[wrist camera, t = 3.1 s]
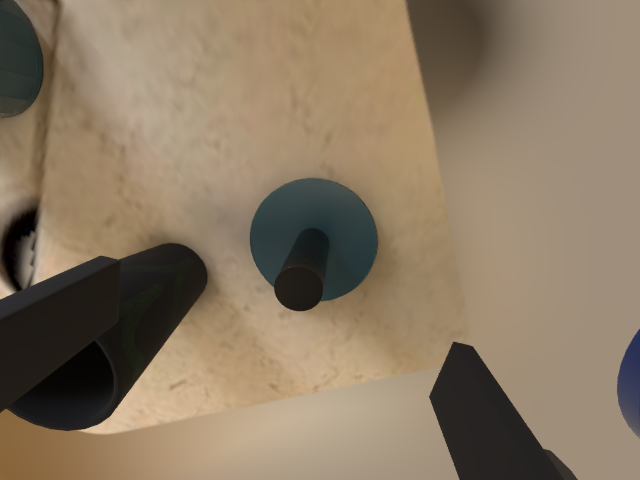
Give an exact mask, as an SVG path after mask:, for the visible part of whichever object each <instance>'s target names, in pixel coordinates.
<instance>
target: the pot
mask: <svg viewBox="0 0 640 480" xmlns="http://www.w3.org/2000/svg"><path fill="white" fill-rule="evenodd" d="M42 75H43V63H42V55H41V50H40V46H39V42H38V39H37V36H36V34H35V32H34V29H33V27H32V25H31V24H30V22H29V20H28V18H27V17H26V15H25V14H24V12H23V11H22V9H21V8H20V7H19V6H18V5H17V3H16V2H15V1H14V0H0V118H5V117H11V116H14V115H17V114H19V113H21V112H23V111H24V110H25V109H27V108H28V107H29V106H30V105H31V104H32V102H33V101H34V99H35V98H36V96H37V94H38V92H39V89H40V86H41V82H42Z"/></svg>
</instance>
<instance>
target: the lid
mask: <svg viewBox="0 0 640 480" xmlns="http://www.w3.org/2000/svg"><path fill="white" fill-rule="evenodd" d="M377 245H378V240H377V231H376V226H375V223H374V220H373V218H372V216H371V214H370V211H369V210H368V208H367V207H366V205H365V204H364V203H363V201H362V200H361V199H360V198H359V197H358V196H357V195H356V194H354V193H353V192H352V191H351V190H349V189H348V188H346V187H344V186H342V185H340V184H338V183H336V182H333V181H329V180H325V179H317V178H308V179H300V180H296V181H293V182H290V183H287V184H285V185H283V186H281V187H280V188H278V189H276V190H275V191H274V192H272V193H271V194H270V195H269V196H268V197H267V198H266V199H265V200H264V201H263V202H262V204H261V205H260V206H259V208H258V210H257V212H256V214H255V216H254V219H253V221H252V226H251V231H250V246H251V252H252V255H253V258H254V261H255V263H256V265H257V267H258V269H259V271H260V272H261V274H262V275H263V276H264V278H265V279H266V280H267V281H268V282H269V283H270V284H271V285H272V286H273V287H274V291H275V295H276V297H277V299H278V300H279V302H280V303H281V304H282V305H283V306H285V307H286V308H288V309H291V310H294V311H306V310H309V309H312V308H313V307H315V306H316V305H317V304H318V303H319V302H320V301H326V300H331V299H335V298H338V297H340V296H343V295H345V294H347V293H348V292H350V291H352V290H353V289H354V288H356V287H357V286H358V285H359V284H360V283H361V282H362V281H363V280H364V279H365V277H366V276H367V275H368V273H369V271H370V270H371V268H372V266H373V263H374V261H375V257H376V253H377Z"/></svg>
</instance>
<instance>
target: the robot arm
mask: <svg viewBox="0 0 640 480" xmlns="http://www.w3.org/2000/svg"><path fill="white" fill-rule="evenodd" d="M120 268H121V260H117V259H113V258H109V257H105V256H99V257H97V258H94V259H92V260H90V261H87V262H85V263H83V264H81V265H78V266H76V267H74V268H71V269H69V270H67V271H65V272H62V273H60V274H58V275H55V276H53V277H51V278H49V279H46V280H44V281H42V282H39V283H37V284H35V285H33V286H30V287H28V288H26V289H23V290H21V291H19V292H17V293H14V294H12V295H10V296H7V297H5V298H3V299H1V300H0V413H1V412H2V411H3V410H4V409H6V408H7V407H8V406H10V405H11V404H12V403H14V402H15V401H16V400H17V399H19V398H20V397H21V396H23V395H24V394H25V393H26V392H28V391H29V390H30V389H32V388H33V387H34V386H36V385H37V384H38V383H39V382H41V381H42V380H43V379H45V378H46V377H47V376H49V375H50V374H51V373H52V372H54V371H55V370H56V369H58V368H59V367H60V366H62V365H63V364H64V363H65V362H67V361H68V360H69V359H71V358H72V357H73V356H74V355H76V354H77V353H78V352H80V351H81V350H82V349H84V348H85V347H86V346H87V345H89V344H90V343H91V342H93V341H94V340H95V339H97V338H98V337H99V336H100V335H102V334H103V333H104V332H106V331H107V330H108V329H109V328H111V327H112V326H113V325H115V324H116V323H117V322H119V295H120ZM429 398H430V400H431V403H432V406H433V409H434V411H435V414H436V416H437V419H438V422H439V425H440V428H441V430H442V433H443V436H444V438H445V441H446V444H447V447H448V449H449V452H450V455H451V457H452V460H453V463H454V466H455V468H456V471H457V474H458V476H459V479H460V480H577V478H576V477H575V475H574V474H573V473H572V471H571V470H570V469H569V468H568V467H567V466H566V465H564V464H563V462H562V461H561V460H559V458H558V457H556V456H555V454H553V453H552V452H551V451H550V450H546V449H543V448H542V446H541V445H540V443H539V442H538V441H537V439H536V438H535V436H534V435H533V433H532V432H531V430H530V429H529V428H528V426H527V425H526V423H525V422H524V420H523V419H522V417H521V416H520V414H519V413H518V411H517V410H516V409H515V407H514V406H513V404H512V403H511V401H510V400H509V398H508V397H507V395H506V394H505V393H504V391H503V390H502V388H501V387H500V385H499V384H498V382H497V381H496V380H495V378H494V377H493V375H492V374H491V372H490V371H489V369H488V368H487V367H486V365H485V364H484V362H483V361H482V359H481V358H480V356H479V355H478V353H477V352H476V350H475V349H474V348H473V347H472V346H470V345H466V344H462V343H457V342H453V344H452V346H451V348H450V350H449V353H448V355H447V357H446V359H445V362H444V364H443V366H442V369H441V371H440V373H439V375H438V378H437V380H436V382H435V384H434V387H433V389H432V392H431V394H430V396H429Z"/></svg>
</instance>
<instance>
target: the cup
mask: <svg viewBox="0 0 640 480" xmlns="http://www.w3.org/2000/svg"><path fill="white" fill-rule="evenodd" d="M119 260H121V268H120V295H119V322H117V323H116V324H115V325H113V326H112V327H111V328H109V329H108V330H107V331H106V332H104V333H103V334H102V335H100V336H99V337H98V338H97V339H95V340H94V341H93V342H91V343H90V344H89V345H87V346H86V347H85V348H84V349H82V350H81V351H80V352H78V353H77V354H76V355H74V356H73V357H72V358H71V359H69V360H68V361H67V362H65V363H64V364H63V365H62V366H60V367H59V368H58V369H56V370H55V371H54V372H52V373H51V374H50V375H49V376H47V377H46V378H45V379H43V380H42V381H41V382H39V383H38V384H37V385H36V386H34V387H33V388H32V389H30V390H29V391H28V392H26V393H25V394H24V395H23V396H21V397H20V398H19V399H17V400H16V401H15V402H14V403H12V404H11V405H10V406H8V407H7V408H6V409H8V410H9V411H11V412H12V413H13V414H15V415H17V416H18V417H20V418H22V419H24V420H26V421H28V422H30V423H33V424H35V425H39V426H42V427H45V428H49V429H55V430H64V431H70V430H81V429H86V428H89V427H92V426H95V425H98V424H100V423H101V422H103V421H104V420H106V419H107V418H108V417H110V416H111V415H112V413H113V412H114V411H115V409H116V408H117V407H118V405H119V404H120V402H121V401H122V400H123V398H124V397H125V396H126V394H127V393H128V392H129V390H130V389H131V388H132V386H133V385H134V384H135V382H136V381H137V380H138V378H139V377H140V376H141V374H142V373H143V372H144V370H145V369H146V368H147V366H148V365H149V364H150V362H151V361H152V360H153V358H154V357H155V356H156V354H157V353H158V351H159V350H160V349H161V347H162V346H163V345H164V343H165V342H166V341H167V339H168V338H169V337H170V335H171V334H172V333H173V331H174V330H175V329H176V327H177V326H178V325H179V323H180V322H181V321H182V319H183V318H184V317H185V315H186V314H187V313H188V311H189V310H190V309H191V307H192V306H193V305H194V303H195V302H196V300H197V299H198V298H199V296H200V295H201V294H202V292H203V291H204V290H205V287H206V284H207V271H206V267H205V265H204V263H203V261H202V260H201V258H200V257H199V256H198V255H197V254H196V253H195V252H194V251H193V250H191V249H189V248H188V247H186V246H183V245H180V244H174V243H168V244H162V245H159V246H157V247H154V248H151V249H148V250H145V251H142V252H139V253H136V254H133V255H131V256H128V257H125V258H122V259H119Z"/></svg>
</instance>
